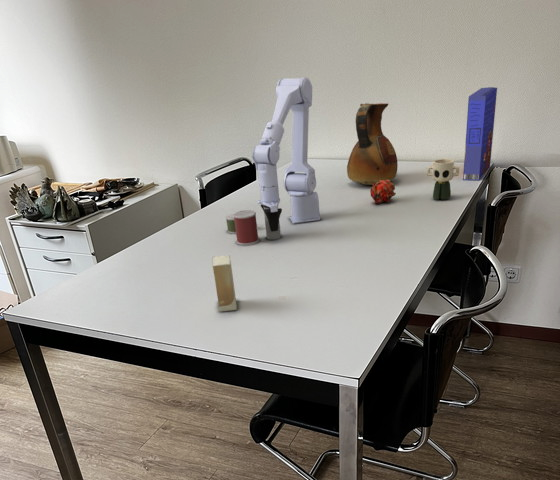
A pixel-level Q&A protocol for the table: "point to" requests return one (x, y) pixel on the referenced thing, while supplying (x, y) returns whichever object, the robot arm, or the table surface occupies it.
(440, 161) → the character mug
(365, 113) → the ceramic pitcher
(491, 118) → the cereal box
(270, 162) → the robot arm
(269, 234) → the planter
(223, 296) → the cosmetic box
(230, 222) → the short can
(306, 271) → the table surface
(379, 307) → the table surface
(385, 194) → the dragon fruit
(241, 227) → the tall can
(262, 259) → the table surface
